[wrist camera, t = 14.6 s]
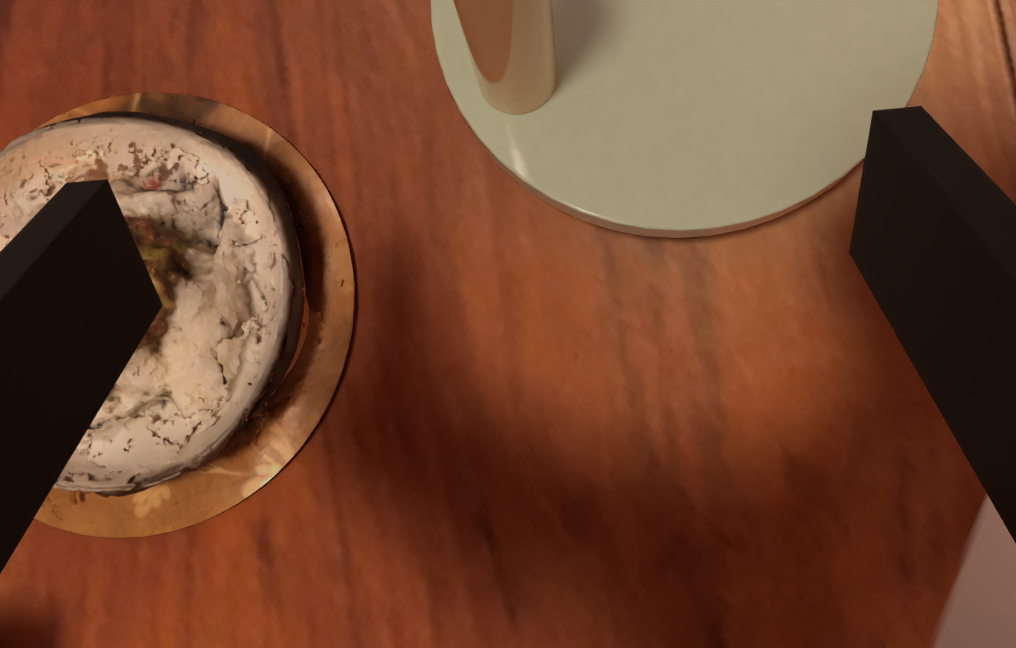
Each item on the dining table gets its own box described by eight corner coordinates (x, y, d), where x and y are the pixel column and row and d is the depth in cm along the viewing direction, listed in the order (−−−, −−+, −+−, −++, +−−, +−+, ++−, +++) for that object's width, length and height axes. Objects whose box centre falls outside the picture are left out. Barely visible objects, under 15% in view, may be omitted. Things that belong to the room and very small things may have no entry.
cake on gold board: (41, 38, 30) (-46, -27, 25) (424, 179, 28) (397, 134, 23) (-143, 427, 28) (-267, 425, 24) (247, 605, 26) (185, 636, 22)
